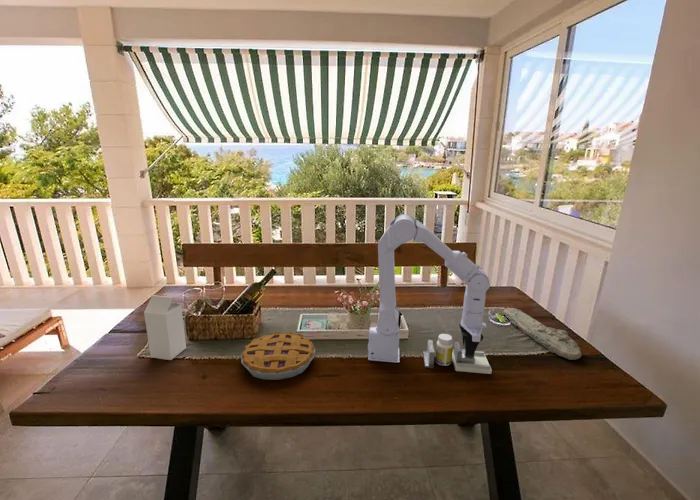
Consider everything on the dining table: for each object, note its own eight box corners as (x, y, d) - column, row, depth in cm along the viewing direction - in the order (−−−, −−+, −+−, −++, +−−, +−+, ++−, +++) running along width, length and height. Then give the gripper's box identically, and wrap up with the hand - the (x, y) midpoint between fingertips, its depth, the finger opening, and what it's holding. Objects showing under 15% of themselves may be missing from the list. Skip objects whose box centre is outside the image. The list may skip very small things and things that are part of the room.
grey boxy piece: (456, 363, 103) (458, 347, 102) (453, 352, 109) (455, 337, 107) (474, 365, 103) (476, 348, 101) (470, 354, 108) (472, 338, 107)
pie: (313, 340, 118) (313, 327, 117) (317, 380, 97) (317, 365, 96) (246, 345, 115) (245, 331, 113) (235, 387, 94) (234, 371, 93)
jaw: (425, 367, 104) (426, 352, 102) (423, 352, 111) (424, 338, 110) (433, 368, 103) (434, 353, 102) (430, 353, 111) (432, 339, 110)
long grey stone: (517, 315, 142) (495, 318, 140) (518, 303, 141) (495, 306, 139) (591, 359, 109) (563, 364, 107) (593, 343, 107) (564, 348, 106)
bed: (455, 370, 102) (456, 364, 102) (451, 354, 110) (451, 348, 110) (491, 373, 101) (492, 367, 101) (484, 357, 109) (485, 351, 109)
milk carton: (171, 360, 105) (163, 302, 100) (150, 357, 106) (141, 299, 101) (186, 348, 112) (179, 292, 107) (166, 345, 113) (159, 290, 108)
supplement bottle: (449, 357, 109) (452, 333, 107) (452, 366, 104) (455, 341, 102) (434, 356, 109) (436, 332, 107) (436, 365, 105) (438, 340, 102)
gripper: (494, 321, 94) (488, 366, 97) (481, 300, 108) (476, 340, 111) (467, 320, 95) (462, 364, 98) (458, 298, 108) (454, 338, 112)
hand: (468, 351), depth 105 cm, fingers closed on grey boxy piece, 3 cm apart
